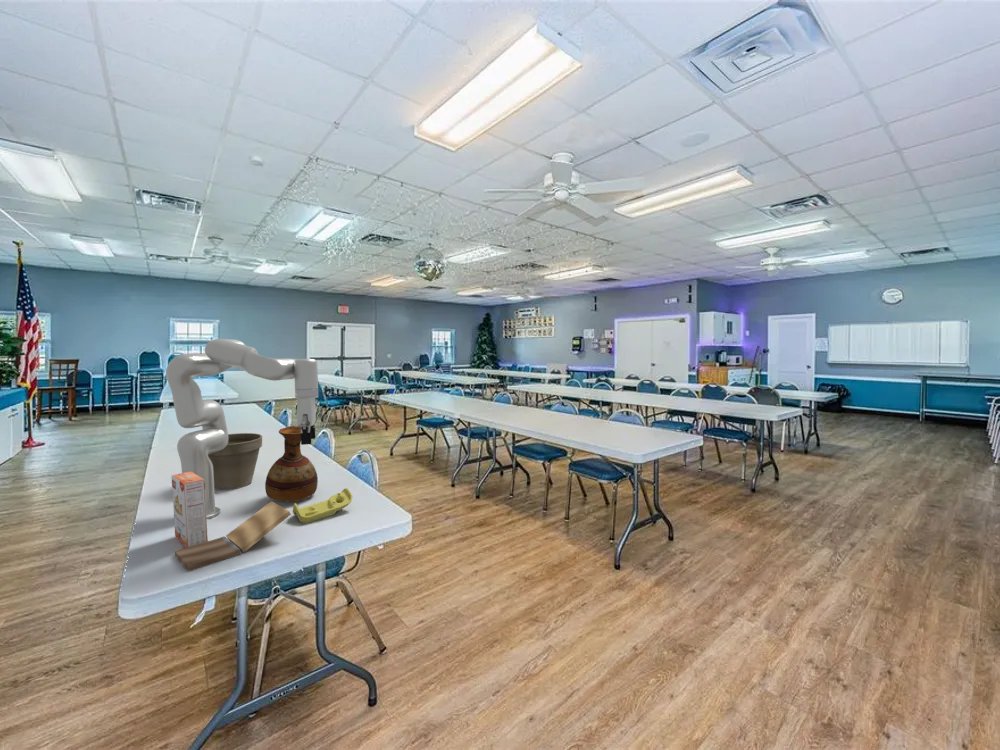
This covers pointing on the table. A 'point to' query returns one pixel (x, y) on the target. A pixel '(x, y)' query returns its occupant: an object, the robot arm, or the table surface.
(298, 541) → the table surface
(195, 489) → the cracker box
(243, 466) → the plant pot
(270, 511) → the oak plank
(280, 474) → the ceramic pitcher
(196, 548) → the walnut board
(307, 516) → the plastic component
